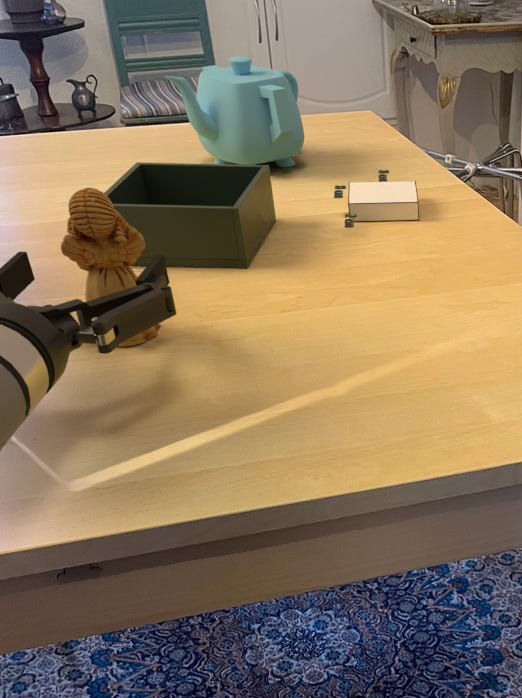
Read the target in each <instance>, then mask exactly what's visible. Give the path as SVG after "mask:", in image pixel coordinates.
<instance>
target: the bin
mask: <svg viewBox="0 0 522 698" xmlns="http://www.w3.org/2000/svg"><path fill="white" fill-rule="evenodd" d="M103 193H104V194H105V195H107V196H108V198H109V199H110V200H111V202H112V204H113V206H114V208H115V210H116V211H117V212H119V213H120V215H121V216H122V217H123V219H124V220H125V221H126V222H127V223H128V225H130V226H131V227H134V228H135V229H136V230H137V231H138V232H139V233H141V235H142V236H143V238H144V241H145V249H144V250H143V251H141V256H140V257H138V258H137V260H136V262H135V263H134V264H133V265H131V266H130V267H132V266H133V267H135V266H137V267H143V266H144V267H147V266H148V264H149V263H150V262H151V261H152V259H153V258H154V257H155V256H156V255H164V259H165V264H166V267H175V268H176V267H180V268H216V269H217V268H220V269H221V268H222V269H223V268H224V269H248V268H249V266H250V265H251V263H252V262H253V260H254V258H255V256H256V254H257V253H258V251H259V249H260V248H261V246H262V245H263V244H264V241H265V239H266V238H267V236H268V235H269V233H270V231H271V229H272V228H273V226H274V225H275V223H276V221H277V217H276V208H275V200H274V194H273V187H272V177H271V171H270V165H269V164H256V165H239V164H233V163H232V164H215V163H183V162H182V163H179V162H178V163H177V162H136V163H134V164H133V165H132V166H131V167H130V168H129V169H128V170H126V172H125V173H124V174H123V175H121V177H119V178H118V179H117V180H116V181H114V183H113V184H111V186H110V187H109V188H108V189H107V190H106V191H104V192H103Z"/></svg>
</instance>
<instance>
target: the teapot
mask: <svg viewBox="0 0 522 698" xmlns="http://www.w3.org/2000/svg"><path fill="white" fill-rule="evenodd" d="M228 62H229V65H230V66H224V67H220V66H218V65H217V64H214V65H207V66H202V71H201V72H200V73H199V76H198V82H197V87H196V89H197V90H196V94H195V92H194V90H193V87H192V85H191V84H190V82H189V81H188V80H187V79H185V78H184V77H182V76H181V77H180V76H173V75H163V77H164V78H165V79H167V80H168V81H170V82H171V83H173V84H174V86H175V87H176V88H177V89H178V91H179V93H180V95H181V99H182V101H183V105H184V109H185V113H186V116H187V119H188V122H189V124H190V125H191V127H192V128H193V130H194V131H195V132H196V134H197V137H198V139H199V141H200V143H201V145H202V147H203V148H204V150H205V151H206V152H207V153H208V154H209V155H211V156H212V157H214V158H215V161H214V164H232V165H233V164H235V165H260V164H264V163H269V162H275V164H276V165H277V167H282V168H284V167H285V168H288V167H292V166H295V165H296V162H295V160H294V159H293V158H292V157H295V156H298V155H299V154H301V151H302V149H303V146H304V142H305V130H304V125H303V119H302V116H301V113H300V110H299V106H298V104H297V102H298V98H299V97H298V96H299V84H298V81H297V79H296V77H295V76H294V75H293V73H291V72H289V71H288V70H285V69H279V68H278V69H273V68H269V67H265V66H260V65H255V64H252V58H251V57H249V56H233V57H230V58H229V59H228Z"/></svg>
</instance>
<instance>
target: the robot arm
mask: <svg viewBox="0 0 522 698" xmlns="http://www.w3.org/2000/svg"><path fill="white" fill-rule="evenodd" d="M137 277H138V278H137V279H136V280H135V282H136V286H134V287H131V288H128V289H125V290H122V291H119V292H115V293H112V294H109V295H106V296H103V297H100V298H97V299H93V300H90V301H87V302H86V301H83V300H81V299H79V298H73V299H71V300H67V301H65V302H62V303H58V304H55V305H53V304H46V305H42V306H39V305H24V304H21V303H17V302H15V301H14V300H16V298H18V296H19V295H20V294H21V293H23V292H24V291H25V290H26V288H28V287H29V286H30V285H31V284H32V283H33V282H34V281H35V279H36V278H35V275H34V272H33V267H32V265H31V262H30V258H29V255H28V253H27V251H18V252H17V253H15V254H14V255H13V256H11V258H9V260H7V261H6V262H5V263H4V264H3V265H2V266H1V267H0V452H1V451H2V449H3V448H4V447H5V446H6V444H7V443H8V442H9V440H10V439H11V438H12V436H14V434H15V433H16V432H17V430H18V429H19V428H20V427H21V425H22V424H23V423H25V421H26V420H27V418H28V417H29V416H30V414H31V413H32V412H33V411H34V409H35V408H36V407H37V406H38V404H39V403H40V402H41V401H42V400H43V399H44V397H45V396H46V395H47V394H49V392H50V391H51V390H52V388H53V387H54V386H55V385H56V384H57V382H58V381H59V380H60V379H61V377H62V376H63V375H64V373H65V371H66V368H67V365H68V362H69V358H70V354H71V353H72V352H73V351H75V350H77V349H79V348H81V347H82V346H83V344H86V345H87V344H88V345H96V347H97V350H98V353H99V354H105V355H106V354H110V353H112V352H113V351H114V350H115V349H116V348H117V346H118V345H119V344H120V343H122V342H124V341H126V340H127V339H129V338H131V337H133V336H135V335H137V334H139V333H141V332H143V331H145V330H147V329H149V328H151V327H153V326H155V325H157V324H161V323H163V322H164V321H166V320H168V319H171V318H173V317H174V316H176V315H177V309H176V303H175V299H174V295H173V291H172V287H171V286H169V284H170V283H171V282H170V279H169V274H168V270H167V266H166V264H165V259H164V255H156V256H155V257H154V258H153V259H152V261H151V262H150V263H149V264H148V266H145V268H143V270H142V272H140V274H139V275H138V276H137ZM75 312H76V317H77V320H76V319H75V317H74V316H73V315H72V313H75Z"/></svg>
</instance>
